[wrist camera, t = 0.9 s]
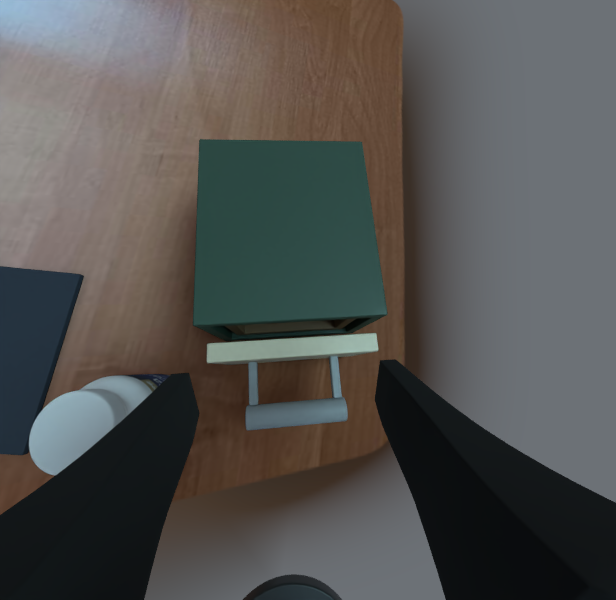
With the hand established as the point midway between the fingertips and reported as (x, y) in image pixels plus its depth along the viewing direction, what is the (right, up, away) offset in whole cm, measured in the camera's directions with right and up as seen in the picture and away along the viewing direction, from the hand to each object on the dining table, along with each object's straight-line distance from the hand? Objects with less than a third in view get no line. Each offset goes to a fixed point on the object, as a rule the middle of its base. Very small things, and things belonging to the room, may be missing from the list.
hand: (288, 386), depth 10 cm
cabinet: (-1, +6, +17) cm, 18 cm away
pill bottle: (-12, -6, +13) cm, 18 cm away
